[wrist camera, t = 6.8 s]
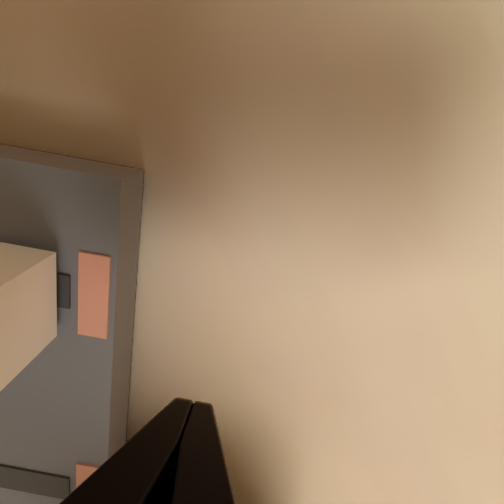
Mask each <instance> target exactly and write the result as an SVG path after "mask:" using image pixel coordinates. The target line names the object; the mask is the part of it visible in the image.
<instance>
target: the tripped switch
mask: <svg viewBox="0 0 504 504" xmlns="http://www.w3.org/2000/svg"><path fill="white" fill-rule="evenodd" d="M56 336H57V287H56V252H52V251H47V250H41V249H36V248H30V247H25V246H20V245H14V244H9V243H3V242H0V391H1V390H3V389H4V388H5V387H6V386H7V385H8V384H9V383H10V382H11V381H12V380H13V379H14V378H15V377H16V376H17V375H18V374H19V373H20V372H21V371H22V370H23V369H24V368H25V367H26V366H27V365H28V364H29V363H30V362H31V361H32V360H33V359H34V358H35V357H36V356H37V355H38V354H39V353H40V352H41V351H42V350H43V349H44V348H45V347H46V346H47V345H48V344H49V343H50V342H51V341H52V340H53V339H54V338H55V337H56Z"/></svg>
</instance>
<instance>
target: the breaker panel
mask: <svg viewBox="0 0 504 504" xmlns="http://www.w3.org/2000/svg"><path fill="white" fill-rule="evenodd" d="M143 180H144V170H142V169H136V168H131V167H125V166H120V165H114V164H109V163H103V162H98V161H92V160H86V159H81V158H75V157H70V156H64V155H59V154H53V153H48V152H42V151H36V150H31V149H25V148H20V147H14V146H9V145H3V144H0V242H3V243H9V244H14V245H20V246H25V247H30V248H36V249H41V250H47V251H52V252H56V287H57V336H56V337H55V338H54V339H53V340H52V341H51V342H50V343H49V344H48V345H47V346H46V347H45V348H44V349H43V350H42V351H41V352H40V353H39V354H38V355H37V356H36V357H35V358H34V359H33V360H32V361H31V362H30V363H29V364H28V365H27V366H26V367H25V368H24V369H23V370H22V371H21V372H20V373H19V374H18V375H17V376H16V377H15V378H14V379H13V380H12V381H11V382H10V383H9V384H8V385H7V386H6V387H5V388H4V389H3V390H1V391H0V504H59V503H60V502H61V501H62V500H64V499H65V498H66V497H67V496H68V495H69V494H70V493H71V492H72V491H73V490H75V489H76V488H77V487H78V486H79V485H80V484H81V483H82V482H83V481H84V480H86V479H87V478H88V477H89V476H90V475H91V474H92V473H93V472H94V471H96V470H97V469H98V468H99V467H100V466H101V465H102V464H103V463H104V462H105V461H107V460H108V459H109V458H110V457H111V456H112V455H113V454H114V453H115V452H116V451H118V450H119V449H120V448H121V447H122V446H123V445H124V444H125V443H126V429H127V414H128V399H129V385H130V370H131V355H132V341H133V326H134V311H135V297H136V282H137V268H138V253H139V238H140V224H141V209H142V194H143Z"/></svg>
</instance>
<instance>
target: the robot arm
mask: <svg viewBox="0 0 504 504" xmlns="http://www.w3.org/2000/svg"><path fill="white" fill-rule="evenodd" d="M59 504H236V503H235V499H234V495H233V490H232V486H231V482H230V478H229V473H228V469H227V465H226V461H225V457H224V452H223V448H222V444H221V440H220V436H219V431H218V427H217V423H216V419H215V414H214V410H213V406H212V405H211V404H210V403H205V402H199V401H196V402H194V403H193V401H192V400H189V399H183V398H175V399H174V400H173V401H171V402H170V403H169V404H168V405H167V406H166V407H165V408H164V409H163V410H162V411H160V412H159V413H158V414H157V415H156V416H155V417H154V418H153V419H152V420H151V421H149V422H148V423H147V424H146V425H145V426H144V427H143V428H142V429H141V430H140V431H138V432H137V433H136V434H135V435H134V436H133V437H132V438H131V439H130V440H129V441H127V442H126V443H125V444H124V445H123V446H122V447H121V448H120V449H119V450H118V451H116V452H115V453H114V454H113V455H112V456H111V457H110V458H109V459H108V460H107V461H105V462H104V463H103V464H102V465H101V466H100V467H99V468H98V469H97V470H96V471H94V472H93V473H92V474H91V475H90V476H89V477H88V478H87V479H86V480H84V481H83V482H82V483H81V484H80V485H79V486H78V487H77V488H76V489H75V490H73V491H72V492H71V493H70V494H69V495H68V496H67V497H66V498H65V499H64V500H62V501H61V502H60V503H59Z"/></svg>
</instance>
